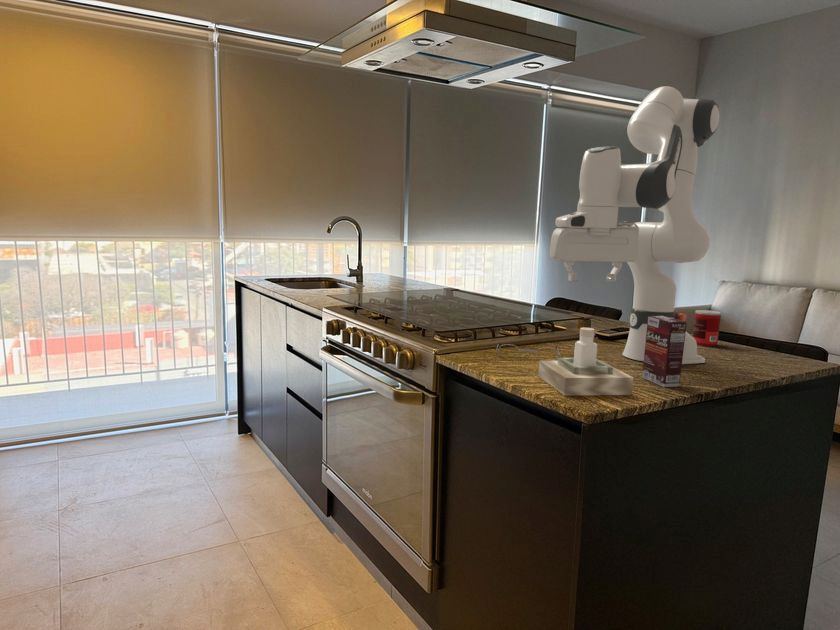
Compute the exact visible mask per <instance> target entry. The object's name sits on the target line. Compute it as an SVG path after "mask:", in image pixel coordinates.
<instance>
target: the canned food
mask: <svg viewBox="0 0 840 630" xmlns="http://www.w3.org/2000/svg"><path fill="white" fill-rule="evenodd" d="M721 317H722V312H720V311H716V310H710V309H709V310H708V309H697V310H695V312H694V319H693V320H694V321H693V328H692V329H693V330H692V337H693V338H694V339H695V340H696V343H697V346H701V345H703V346H702V347H716V346H717V344H718V342H719V336H720V335H719V333H720V327H721V326H720V325H721Z"/></svg>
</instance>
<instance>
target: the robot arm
mask: <svg viewBox="0 0 840 630" xmlns="http://www.w3.org/2000/svg"><path fill="white" fill-rule="evenodd" d="M719 122H720V111H719V106H718V104H717V102H716V101H715V100H714V99H711V98H703V97H700V98H699V99H697V98H696V99H693V98H684V97H683V95H682V93H681V91H679V90H678V89H676V87H672V86H669V85H666V86H665V85H664V86H659V87H657V88H655V89H653V90H652V91H651V92H649V94H648V95H647V96H645V97H644V98H643V100H642V101H641V102H640V103H639V105H638V106H637V108H636V109H635V110H634V111H633V114H632V115H631V117H630V119H629V121H628V124H627V127H626V128H627V130H626V133H627V137H628V140H629V142H630V144H631V145H632V146H633V147H634V149H637V150H638V151H640V152H642V153H645V154H647V155H648V154H649V155H658V156H657V159H656V160H655V161H652V162H648V163H634V164H633V163H632V164H631V163H630V164H629V163H628V164H622V156H621V149H620V147H617V146H616V145H615V146H614V145H608V146H594V147H590V148H588V149H586V150H585V152H584V154H583V157H582V162H581V165H580V166H581V167H580V172H579V181H578V189H579V199H578V202H577V207H576V211H575V212H572V213H568V214H565V215H561V216H558V217H556V219H555V221H554V222H555V223H554V224H555V226H556V227H557V228H555V229H554V231H553V232H552V234H551V239H550V243H549V252H548V253H549V257H550V259H551V260H552V261H558V262H559V261H560V262H563V266H564V269H565V270H566V273H568V274H567V281H569V282H577V281H578V278H577V277H578V273H576V272H574V270H573V267H574V264H575V262H602V263H603V262H606V263H607V262H611V266H612V267H613V268H612V269H611V271H610V272H608V273H606V282H609V283H611V282H612V283H613V282H614V283H616V281H617V275H618V274H619V272H620V271H621V269H622V267H623V263H627V265H628V266H629V268H630V271H631V274H632V277H633V303H632V307H631V309H630V317H629V333H628V337H627V340H626V344H625V347H624V349H623V352H622V356H623V357H625V358H628V359H630V360H631V359H632V360H635V361H640V362H644V353H645V342H646V332H647V322H648V316H665V317H669V318H673V319H677V320H680V321H685V322H686V320H687V318H688V316H687V315H686V314H685V313H683V312H682V313H681V312H679V313H678V312H676V311H675V307H676V306H675V304H676V295H677V286H676V283H675V281H674V280H673V279H672V278H671V277H670V276H668V275H666V274H665V273H663V271H662V269H661V267H660V262H663V263H678V264H684V263H685V264H686V263H693V262H700V260H701V259H703V258H704V256H705V255H706V254H707V253H708V250H709V249H710V237H709V233H708V231H707V230H706V228H705V227H704V226H703V225H701V224H700V223H699V222H698V220H697V219H696V217H695V215H694V213H693V209H692V195H693V189H694V183H695V178H696V173H697V166H698V148H700V147H702V146H703V145H704V143H705V142H706V141H709V140H710V139H711V137H712V136H713V135H714V134H715V132H716V131H717V128H718V126H719ZM619 207H620V208H643V209H654V210H658V211H660V212H662V213H663V220H662V221H661V222H658V221H656V222H654V221H653V222H652V221H637V222H634V221H631V220H628V221H626V220H625V221H623V220H618V217H619V215H618V214H619ZM705 363H706V358H705V357H703V356H702V355H699V354H698V345H697V343H696V340H695V339H694V338H693V335H691V334H690V333H689V332H687V331H686V333H685V342H684V350H683V359H682V365H690V364H691V365H693V364H705Z"/></svg>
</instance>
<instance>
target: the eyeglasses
mask: <svg viewBox="0 0 840 630" xmlns="http://www.w3.org/2000/svg"><path fill="white" fill-rule="evenodd" d="M504 346H511V344H509V343H508V344H507V343H506V344H502V345H500V346H499V345H497V347H496V349H495V352H497V353H498V356H500V355H501V354H500V349H501V347H504ZM512 346H514V347H515V348H516V349H517V351H518V352H517V355H516V356H514V358H516V357H518V356H519V354H520V352H528V353H536V357H537V358H538V359H539V360H541V358H540V357H539V355H538V352H539V350H540V349H545V348H547V349H552V350H554V351H555V352H556V358H555V359H554V361H557V360H558V358H559V357H561V354H560V350H559V347H558V344H555V348H557V349H555V348H553V347H551V346H550V347H547V346H543V347H540V348H539V350H533V349H519V348H518V346H517V345H514V344H512ZM498 347H499V348H498ZM558 356H559V357H558Z"/></svg>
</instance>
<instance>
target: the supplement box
mask: <svg viewBox="0 0 840 630" xmlns="http://www.w3.org/2000/svg"><path fill="white" fill-rule="evenodd" d="M686 332H687V321H686V320H685V321H682V320H677V319H673V318H669V317H665V316H648V322H647V332H646V342H645V353H644V361H643V365H642V373H641V375H642V376H641V378H642V379H643V380H646V381H649V382H651V383H653V384H656V385H658V386H661V388H675V387H681V386H680V384H681V376H682V375H681V374H682V366H683V364H682V359H683V350H684V342H685V333H686Z"/></svg>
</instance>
